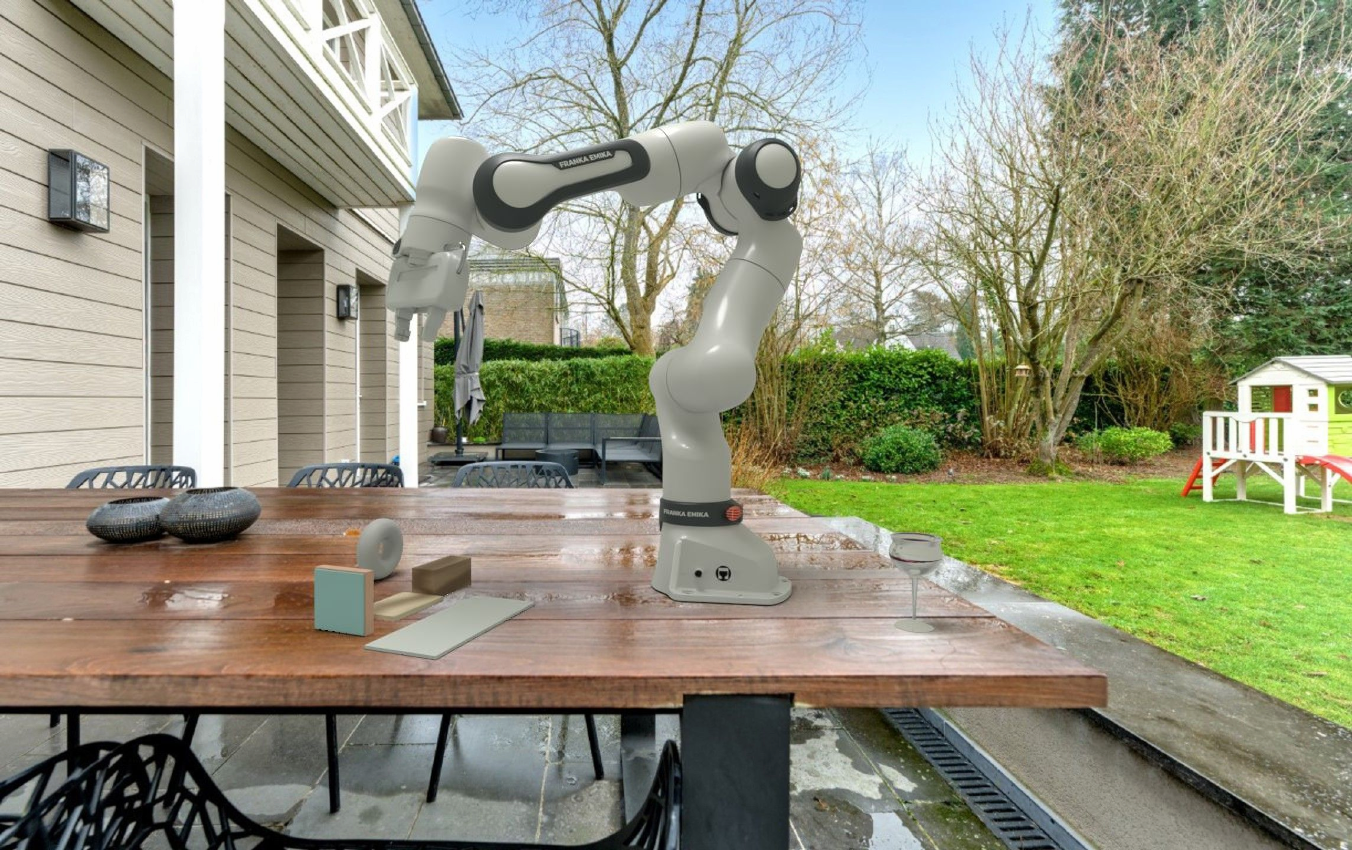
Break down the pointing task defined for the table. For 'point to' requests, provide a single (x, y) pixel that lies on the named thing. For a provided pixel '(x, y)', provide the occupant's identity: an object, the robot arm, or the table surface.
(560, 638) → the table surface
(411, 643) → the mat
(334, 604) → the tile
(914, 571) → the wineglass
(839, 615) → the table surface
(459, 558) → the stepped slab stack
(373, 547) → the donut
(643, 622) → the table surface
